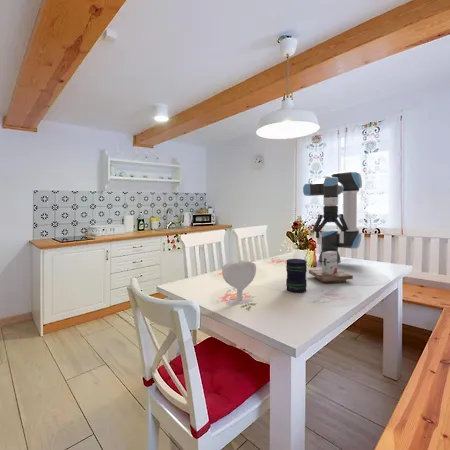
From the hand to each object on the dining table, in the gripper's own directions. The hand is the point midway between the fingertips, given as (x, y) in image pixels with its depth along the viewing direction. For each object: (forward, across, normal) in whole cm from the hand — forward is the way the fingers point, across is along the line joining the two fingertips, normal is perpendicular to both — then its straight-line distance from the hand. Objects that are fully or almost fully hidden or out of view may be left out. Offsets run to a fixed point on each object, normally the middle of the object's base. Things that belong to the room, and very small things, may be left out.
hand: (330, 243), depth 152 cm
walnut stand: (+21, 0, 0) cm, 21 cm away
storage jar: (+20, -26, -14) cm, 36 cm away
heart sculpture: (+20, -57, -24) cm, 65 cm away
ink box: (+17, 0, 0) cm, 17 cm away
